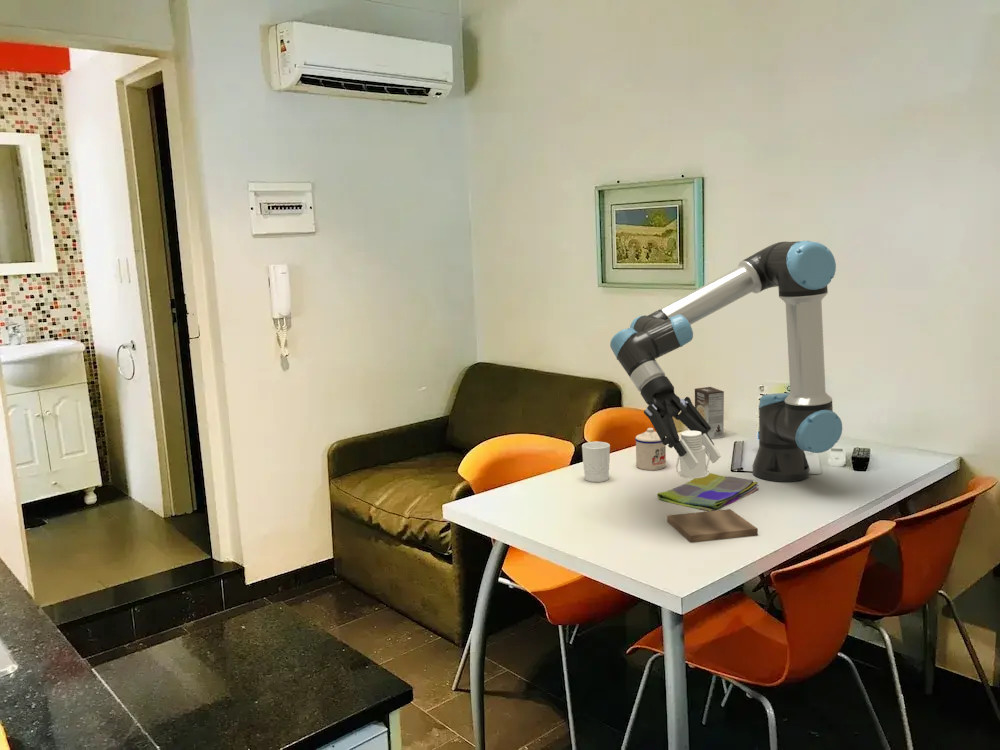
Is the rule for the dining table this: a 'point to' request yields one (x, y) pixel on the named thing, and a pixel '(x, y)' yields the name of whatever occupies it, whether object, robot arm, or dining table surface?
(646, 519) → the dining table surface
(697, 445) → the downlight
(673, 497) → the dish towel
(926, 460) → the dining table surface
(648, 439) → the teacup with lid
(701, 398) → the coffee box
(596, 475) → the white cup
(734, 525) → the walnut board
